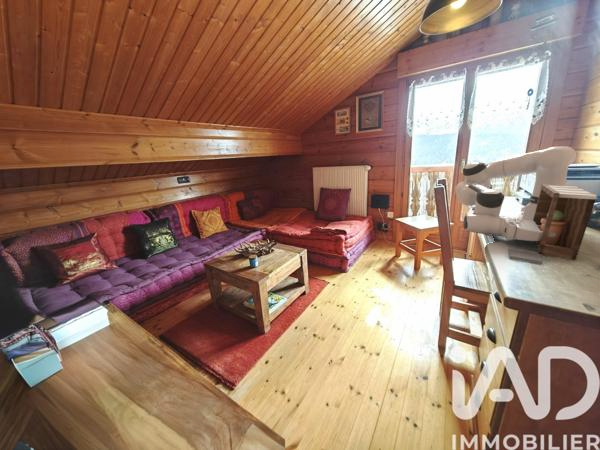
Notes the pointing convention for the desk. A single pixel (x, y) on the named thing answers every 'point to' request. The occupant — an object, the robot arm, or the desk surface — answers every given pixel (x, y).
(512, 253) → the slate tile
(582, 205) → the slatted wooden crate
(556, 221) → the terracotta pot
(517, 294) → the desk surface
